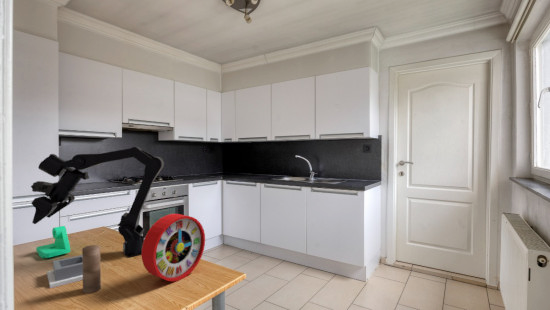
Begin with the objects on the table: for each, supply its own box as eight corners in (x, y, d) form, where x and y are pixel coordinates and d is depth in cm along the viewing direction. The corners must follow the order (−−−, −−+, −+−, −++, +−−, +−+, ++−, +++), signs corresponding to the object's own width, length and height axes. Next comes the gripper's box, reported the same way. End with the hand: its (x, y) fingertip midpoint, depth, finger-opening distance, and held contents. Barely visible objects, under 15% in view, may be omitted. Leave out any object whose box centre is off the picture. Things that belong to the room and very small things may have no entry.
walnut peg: (99, 284, 87) (98, 243, 87) (102, 290, 84) (101, 247, 83) (81, 289, 84) (81, 247, 84) (84, 295, 81) (83, 251, 80)
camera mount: (35, 253, 112) (35, 227, 111) (59, 248, 118) (58, 223, 118) (46, 261, 105) (45, 233, 104) (70, 254, 111) (70, 228, 111)
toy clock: (153, 292, 83) (153, 223, 82) (141, 286, 86) (141, 220, 85) (205, 267, 100) (205, 210, 99) (193, 264, 103) (193, 208, 102)
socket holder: (90, 264, 102) (89, 251, 101) (97, 276, 93) (96, 262, 93) (46, 274, 94) (46, 260, 93) (49, 288, 85) (49, 273, 84)
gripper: (58, 170, 113) (33, 203, 111) (30, 174, 95) (0, 215, 93) (85, 184, 116) (61, 217, 114) (63, 191, 98) (34, 231, 96)
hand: (41, 220), depth 104 cm, fingers open, 9 cm apart
